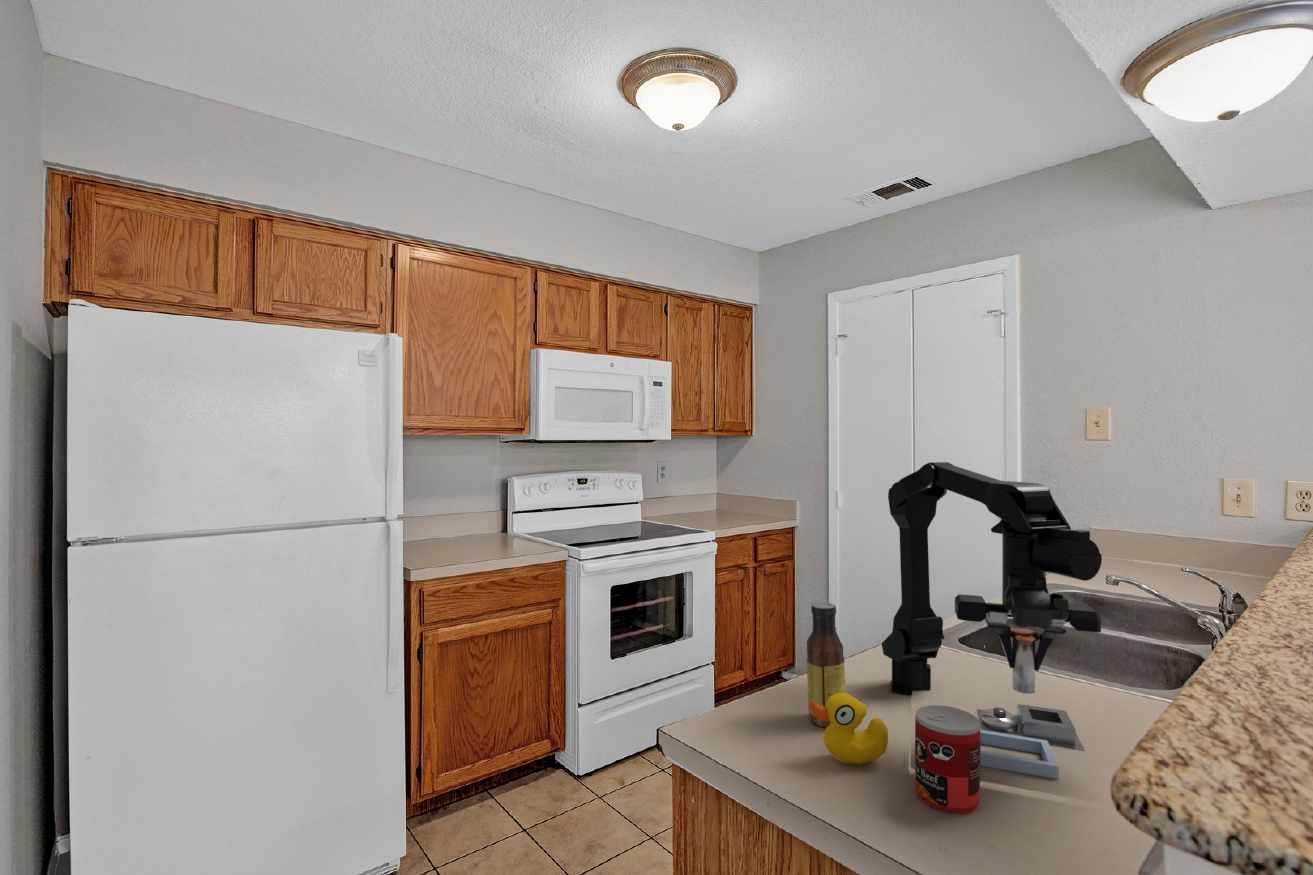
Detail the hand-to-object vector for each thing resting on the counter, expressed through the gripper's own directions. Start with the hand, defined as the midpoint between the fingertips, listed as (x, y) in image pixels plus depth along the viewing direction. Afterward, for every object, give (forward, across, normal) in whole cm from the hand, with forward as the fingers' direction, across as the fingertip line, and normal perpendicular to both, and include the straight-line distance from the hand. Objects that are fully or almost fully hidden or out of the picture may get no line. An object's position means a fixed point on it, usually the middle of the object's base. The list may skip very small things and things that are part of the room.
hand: (1023, 668), depth 97 cm
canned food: (+14, -12, -16) cm, 24 cm away
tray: (+13, -2, -3) cm, 14 cm away
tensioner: (+13, +2, +8) cm, 16 cm away
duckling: (+13, -25, -11) cm, 30 cm away
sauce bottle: (+13, -29, +1) cm, 32 cm away
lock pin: (+3, 0, 0) cm, 3 cm away
